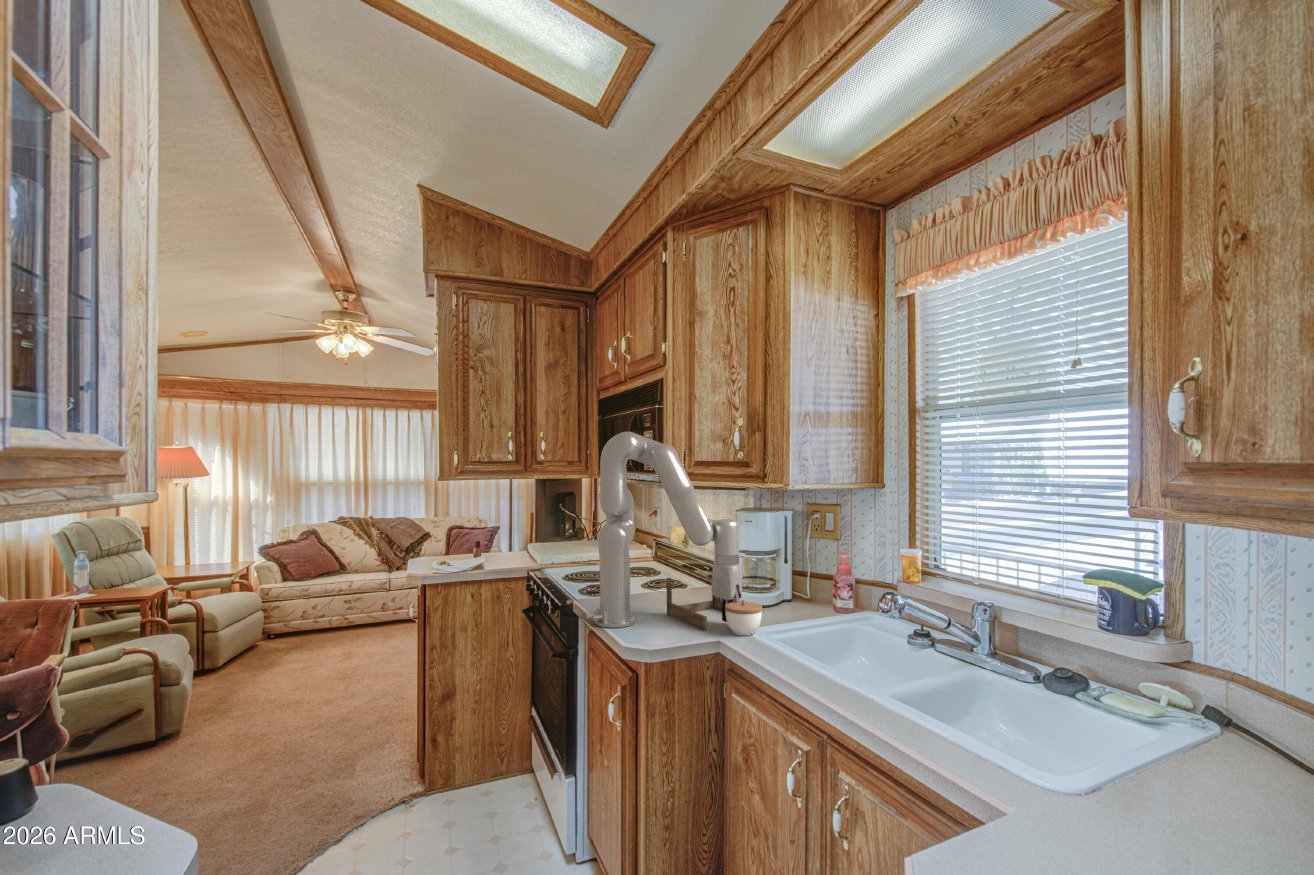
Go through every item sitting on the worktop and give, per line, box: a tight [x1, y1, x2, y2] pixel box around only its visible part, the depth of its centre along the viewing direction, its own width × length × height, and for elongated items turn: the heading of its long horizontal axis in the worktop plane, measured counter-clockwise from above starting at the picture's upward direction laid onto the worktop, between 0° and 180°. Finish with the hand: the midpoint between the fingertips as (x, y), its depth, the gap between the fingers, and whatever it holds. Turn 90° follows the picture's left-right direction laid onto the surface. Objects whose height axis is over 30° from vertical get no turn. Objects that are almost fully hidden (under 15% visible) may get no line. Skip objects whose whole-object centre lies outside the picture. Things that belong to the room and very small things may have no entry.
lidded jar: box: [725, 599, 763, 637], centre depth 162 cm, size 11×11×9 cm
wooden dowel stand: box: [666, 577, 723, 632], centre depth 178 cm, size 19×21×12 cm
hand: (727, 620), depth 170 cm, fingers closed
